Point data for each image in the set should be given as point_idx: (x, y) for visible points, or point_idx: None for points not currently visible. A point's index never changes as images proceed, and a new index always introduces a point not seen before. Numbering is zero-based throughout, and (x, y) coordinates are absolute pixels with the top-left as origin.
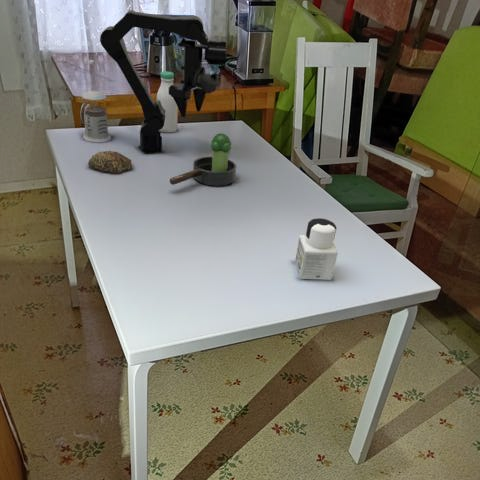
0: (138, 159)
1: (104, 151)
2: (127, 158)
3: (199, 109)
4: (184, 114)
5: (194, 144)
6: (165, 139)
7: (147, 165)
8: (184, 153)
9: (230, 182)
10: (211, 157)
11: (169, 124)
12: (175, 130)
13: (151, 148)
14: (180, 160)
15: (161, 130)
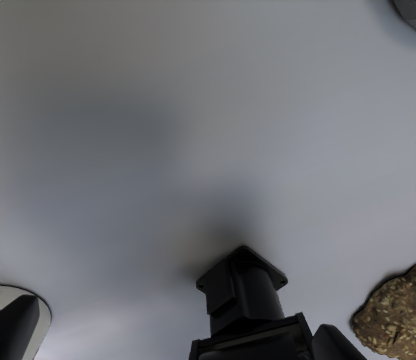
0: (338, 275)
1: (410, 357)
2: (408, 298)
3: (24, 315)
4: (361, 356)
5: (76, 178)
6: (109, 280)
7: (384, 237)
8: (209, 175)
9: None
10: None
11: None
12: (3, 288)
13: (272, 280)
14: (296, 160)
15: (50, 319)
